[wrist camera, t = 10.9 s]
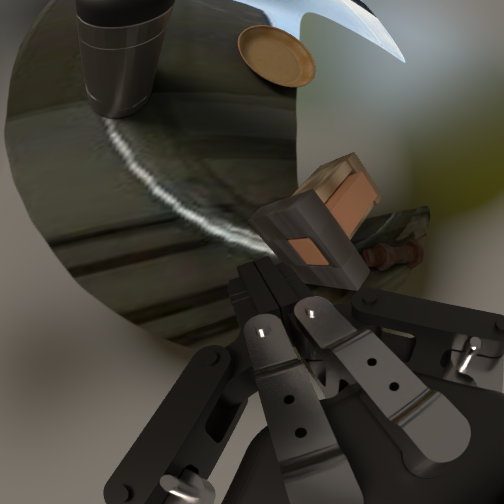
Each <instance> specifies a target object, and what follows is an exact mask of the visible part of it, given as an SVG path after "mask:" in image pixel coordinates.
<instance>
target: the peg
mask: <svg viewBox="0 0 504 504" xmlns="http://www.w3.org/2000/svg"><path fill="white" fill-rule="evenodd" d="M376 197H377V194H376V193H375V191H374V189H373V188H372V186H371V185H370V183H369V182H368V180H367V178H366V177H365V175H364V174H363V172H359V173H356V174H353V175H350V176H347V177H346V178H345V179H344V180H343V182H342V183H341V184H340V185H339V186H338V187H337V189H336V190H335V191H334V192H333V193H332V195H331V196H330V197H329V198H328V199H327V200H326V202H325V203H324V204H325V205H326V207H327V208H328V209H329V211H330V212H331V214H332V215H333V216H334V218H335V219H336V221H337V222H338V223H339V225H340V226H341V228H342V229H343V231H344V232H345V233H346V235H347V236H348V237H349V236H350V234H351V233H352V232H353V230H354V229H355V227H356V226H357V224H358V223H359V222H360V220H361V219H362V217H363V216H364V214H365V213H366V212H367V210H368V209H369V207H370V206H371V204H372V203H373V201H374V200H375V198H376ZM288 241H289V243H290V244H291V245H292V246H293V248H294V249H295V250H296V251H297V252H298V254H299V255H300V256H301V257H302V259H303V260H304V261H305V262H306V263H307V264H310V265H328V264H329V263H328V261H327V260H326V259H325V257H324V256H323V255H322V253H321V252H320V251H319V249H318V248H317V247H316V246H315V244H314V243H313V242H312V240H311V239H310V238H309V237H302V238H292V239H289V240H288Z"/></svg>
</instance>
